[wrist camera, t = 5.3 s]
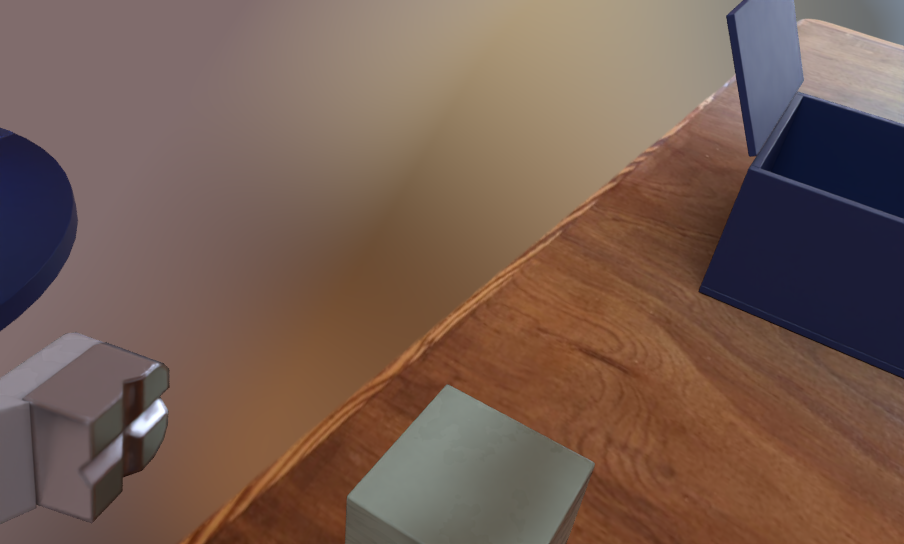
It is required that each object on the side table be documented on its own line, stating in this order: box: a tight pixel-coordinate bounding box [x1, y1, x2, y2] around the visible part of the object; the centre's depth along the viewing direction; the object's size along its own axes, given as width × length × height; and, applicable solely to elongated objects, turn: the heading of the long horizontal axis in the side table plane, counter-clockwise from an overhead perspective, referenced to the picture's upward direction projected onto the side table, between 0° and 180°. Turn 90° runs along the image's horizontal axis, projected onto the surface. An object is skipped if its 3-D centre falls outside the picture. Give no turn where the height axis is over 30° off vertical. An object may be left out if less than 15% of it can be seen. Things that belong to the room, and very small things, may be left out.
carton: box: [699, 92, 904, 378], centre depth 44 cm, size 15×13×8 cm
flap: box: [726, 0, 804, 157], centre depth 42 cm, size 7×13×1 cm
